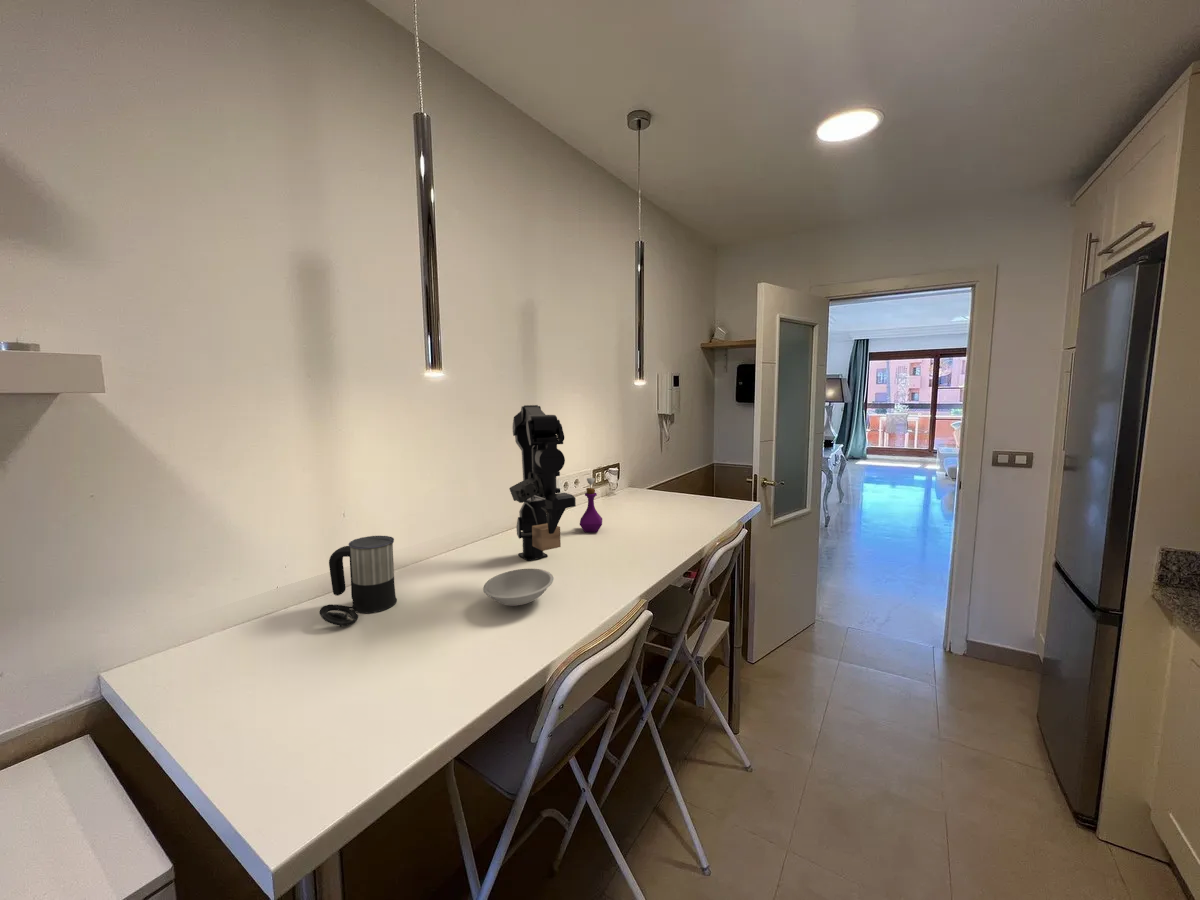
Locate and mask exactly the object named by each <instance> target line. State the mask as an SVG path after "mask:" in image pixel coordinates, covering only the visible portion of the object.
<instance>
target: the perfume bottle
mask: <svg viewBox="0 0 1200 900" xmlns="http://www.w3.org/2000/svg"><path fill="white" fill-rule="evenodd" d="M595 480H596V478H594V477H587V478H586V482H587V483H588V484H589V486H590V487H586V489H585V490H586V492H585V493H584V496H585V497H586V498H587V508H586V510H585V512H584V513H583V514H582V516H581V517H580V520H579V526H580V528H581V529H582V531H583V532H584V533H586V532H587V533H598V532H599V530H600V529H601V527H602V526H603V517H602V516H601V515H600V513H599V512H598V511H597V509H596V506H595V502H594V501H595V497H596V496H597V495H598V493H597V492H596V489H595V488H593V487H592V485H593V484H594V483H595Z"/></svg>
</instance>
